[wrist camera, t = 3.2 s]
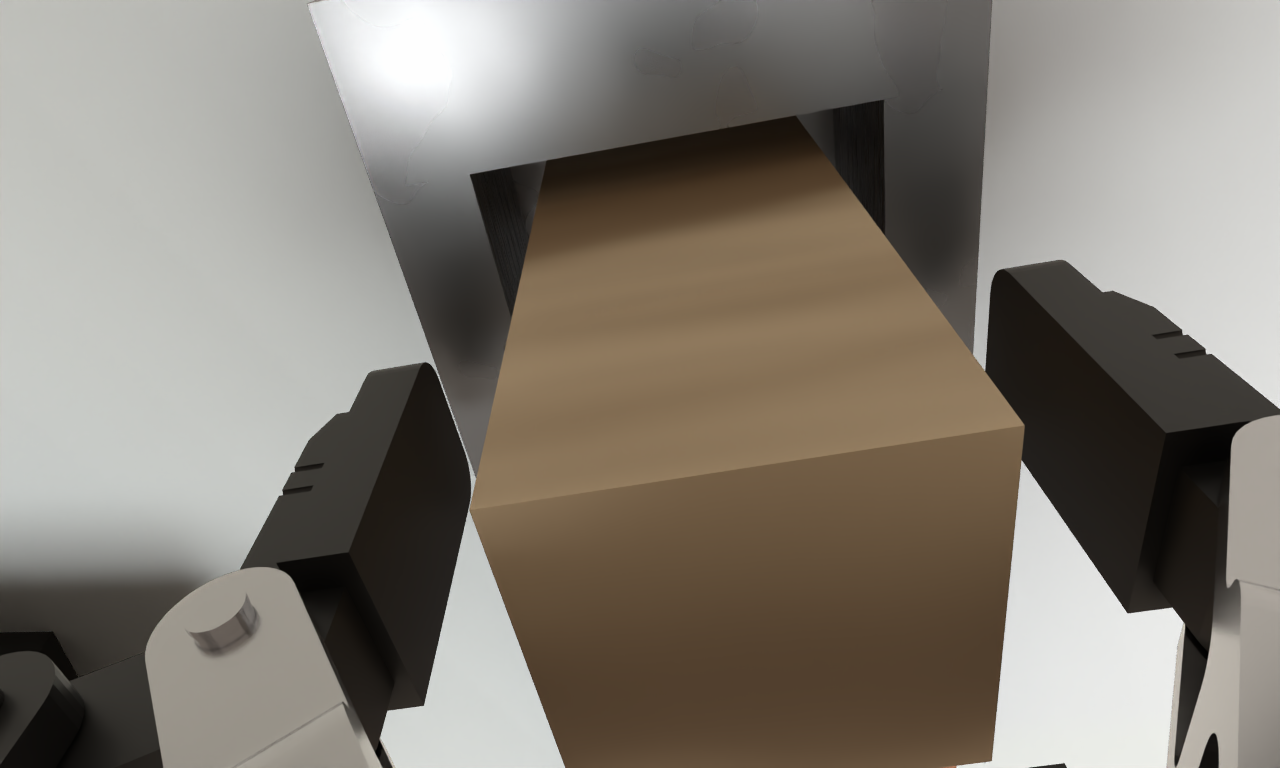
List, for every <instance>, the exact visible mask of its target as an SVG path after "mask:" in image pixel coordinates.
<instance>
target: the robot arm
mask: <svg viewBox="0 0 1280 768" xmlns="http://www.w3.org/2000/svg"><path fill="white" fill-rule="evenodd" d="M1205 350H1206V349H1205V348H1204V347H1202V346H1201V345H1200V344H1199V343H1198V342H1196V341H1195V340H1194V339H1193V338H1191V337H1190V336H1189V335H1183V334H1182V329H1180V328H1179V327H1178V326H1177V325H1175V324H1174V323H1173V322H1172V321H1170V320H1169V319H1168V318H1167V317H1166V316H1164V315H1163V314H1162V313H1161V312H1159V311H1158V310H1157V309H1156V308H1154V307H1152V306H1149V305H1147V304H1144V303H1142V302H1139V301H1137V300H1134V299H1132V298H1129V297H1127V296H1124V295H1122V294H1119V293H1117V292H1114V291H1109V292H1101V291H1100V290H1099V289H1098V288H1097V287H1096V286H1095V285H1093V284H1092V283H1091V282H1090V281H1089V280H1088V279H1086V278H1085V277H1084V276H1083V275H1082V274H1081V273H1080V272H1078V271H1077V270H1076V269H1075V268H1074V267H1073V266H1071V265H1070V264H1069V263H1068V262H1066V261H1064V260H1056V261H1050V262H1043V263H1037V264H1031V265H1025V266H1019V267H1013V268H1007V269H1001V270H999V271H997V272H996V274H995V275H994V277H993V280H992V285H991V292H990V307H989V322H988V338H987V354H986V369H985V372H986V374H987V375H988V376H989V378H990V379H991V380H992V382H993V383H994V384H995V386H996V387H997V388H998V390H999V391H1000V392H1001V394H1002V395H1003V397H1004V398H1005V399H1006V401H1007V402H1008V403H1009V405H1010V406H1011V407H1012V409H1013V410H1014V411H1015V413H1016V414H1017V415H1018V417H1019V418H1020V420H1021V421H1022V422H1023V424H1024V425H1025V428H1024V438H1023V449H1022V459H1021V460H1022V461H1023V462H1024V464H1025V465H1026V467H1027V468H1028V470H1029V471H1030V473H1031V474H1032V476H1033V477H1034V478H1035V480H1036V481H1037V483H1038V484H1039V486H1040V487H1041V489H1042V490H1043V491H1044V493H1045V494H1046V496H1047V497H1048V499H1049V500H1050V502H1051V503H1052V504H1053V506H1054V507H1055V509H1056V510H1057V512H1058V513H1059V515H1060V516H1061V518H1062V519H1063V520H1064V522H1065V523H1066V525H1067V526H1068V528H1069V529H1070V531H1071V532H1072V533H1073V535H1074V536H1075V538H1076V539H1077V541H1078V542H1079V544H1080V545H1081V546H1082V548H1083V549H1084V551H1085V552H1086V554H1087V555H1088V557H1089V558H1090V560H1091V561H1092V562H1093V564H1094V565H1095V567H1096V568H1097V570H1098V571H1099V573H1100V574H1101V575H1102V577H1103V578H1104V580H1105V581H1106V583H1107V584H1108V586H1109V587H1110V588H1111V590H1112V591H1113V593H1114V594H1115V596H1116V597H1117V599H1118V600H1119V602H1120V603H1121V604H1122V606H1123V607H1124V609H1125V610H1126V612H1127V613H1134V612H1142V611H1149V610H1157V609H1164V608H1172V607H1173V609H1174V610H1175V611H1176V613H1177V614H1178V615H1179V617H1180V618H1181V619H1182V621H1183V622H1184V623H1183V627H1182V630H1181V634H1180V638H1179V642H1178V646H1177V656H1176V667H1175V678H1174V689H1173V700H1172V711H1171V722H1170V734H1169V745H1168V756H1167V767H1166V768H1280V409H1279V408H1278V407H1276V406H1275V405H1274V404H1273V403H1272V402H1270V401H1269V400H1268V399H1267V398H1265V397H1264V396H1263V395H1262V394H1260V393H1259V392H1258V391H1257V390H1255V389H1254V388H1253V387H1252V386H1251V385H1249V384H1248V383H1247V382H1246V381H1244V380H1243V379H1242V378H1241V377H1239V376H1238V375H1237V374H1236V373H1235V372H1233V371H1232V370H1231V369H1230V368H1228V367H1227V366H1226V365H1225V364H1223V363H1222V362H1221V361H1220V360H1219V359H1217V358H1216V357H1215V356H1214V355H1212V354H1208V355H1207V354H1206V351H1205ZM294 468H295V472H294V473H291V475H290V477H289V478H288V480H287V482H286V484H285V486H284V488H283V490H282V491H283V496H279V497H278V499H277V501H276V503H275V505H274V507H273V508H272V510H271V512H270V514H269V516H268V518H267V520H266V522H265V523H264V525H263V527H262V529H261V531H260V533H259V535H258V537H257V539H256V540H255V542H254V544H253V546H252V548H251V550H250V552H249V554H248V555H247V557H246V559H245V561H244V563H243V565H242V567H241V569H240V570H238V571H234V572H231V573H228V574H226V575H223V576H220V577H218V578H216V579H214V580H212V581H210V582H208V583H206V584H204V585H202V586H201V587H199V588H197V589H196V590H194V591H193V592H191V593H190V594H188V595H187V596H186V597H184V598H183V599H182V600H181V601H179V602H178V603H177V604H176V605H175V606H174V607H173V608H172V609H171V610H170V611H168V612H167V613H166V615H165V616H164V617H163V618H162V619H161V621H160V622H159V623H158V624H157V626H156V627H155V629H154V631H153V632H152V634H151V636H150V638H149V640H148V643H147V647H146V651H145V652H144V653H142V654H139V655H137V656H134V657H131V658H129V659H126V660H123V661H121V662H118V663H116V664H113V665H110V666H108V667H105V668H103V669H100V670H97V671H95V672H92V673H90V674H87V675H84V676H82V677H79V678H76V679H74V680H71V681H69V680H68V679H67V678H66V677H65V676H64V674H63V673H62V672H61V671H60V670H59V668H58V667H57V666H56V665H55V664H54V662H53V661H52V660H51V659H50V658H49V657H48V656H46V655H44V654H42V653H39V652H33V651H21V652H14V653H9V654H5V655H2V656H0V768H395V766H394V764H393V762H392V760H391V757H390V755H389V753H388V751H387V749H386V747H385V746H384V744H383V742H382V740H381V738H380V735H381V732H382V728H383V724H384V721H385V717H386V713H387V711H388V710H396V709H403V708H410V707H418V706H424V703H425V698H426V694H427V689H428V685H429V681H430V676H431V672H432V667H433V663H434V659H435V654H436V650H437V645H438V641H439V637H440V632H441V628H442V623H443V619H444V614H445V610H446V606H447V601H448V597H449V592H450V588H451V584H452V579H453V575H454V570H455V566H456V561H457V557H458V553H459V548H460V544H461V539H462V535H463V531H464V526H465V522H466V517H467V513H468V508H469V504H470V498H471V480H470V472H469V466H468V462H467V458H466V455H465V452H464V449H463V446H462V443H461V440H460V438H459V435H458V432H457V429H456V426H455V424H454V421H453V418H452V415H451V412H450V410H449V407H448V404H447V401H446V398H445V395H444V393H443V390H442V387H441V384H440V381H439V379H438V376H437V374H436V372H435V370H434V369H433V367H432V366H431V365H430V364H429V363H426V362H425V363H419V364H412V365H406V366H400V367H394V368H388V369H382V370H376V371H371V372H370V373H369V374H368V375H367V377H366V379H365V381H364V383H363V385H362V387H361V389H360V391H359V393H358V395H357V397H356V399H355V401H354V403H353V405H352V407H351V409H350V412H347V413H341V414H336V415H335V416H334V417H333V418H332V419H331V420H330V421H329V422H328V423H327V424H326V425H325V426H324V427H322V428H321V429H320V430H319V431H318V432H317V433H316V434H315V435H314V436H313V437H312V438H311V439H310V440H309V441H308V443H307V445H306V447H305V448H304V450H303V452H302V454H301V456H300V458H299V460H298V462H297V463H296V465H295V467H294ZM1031 768H1067V767H1066V765H1065V763H1063V764H1055V765H1047V766H1039V767H1031Z"/></svg>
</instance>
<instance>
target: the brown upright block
mask: <svg viewBox="0 0 1280 768" xmlns="http://www.w3.org/2000/svg"><path fill="white" fill-rule="evenodd" d="M1024 428H1025V425H1024V424H1023V422H1022V421H1021V420H1020V418H1019V417H1018V415H1017V414H1016V413H1015V411H1014V410H1013V409H1012V407H1011V406H1010V405H1009V403H1008V402H1007V401H1006V399H1005V398H1004V397H1003V395H1002V394H1001V392H1000V391H999V390H998V388H997V387H996V386H995V384H994V383H993V382H992V380H991V379H990V378H989V376H988V375H987V374H986V372H985V371H984V369H983V368H982V367H981V365H980V364H979V363H978V361H977V360H976V359H975V357H974V356H973V355H972V353H971V352H970V351H969V349H968V348H967V346H966V345H965V344H964V342H963V341H962V340H961V338H960V337H959V336H958V334H957V333H956V332H955V330H954V329H953V328H952V326H951V325H950V323H949V322H948V321H947V319H946V318H945V317H944V315H943V314H942V313H941V311H940V310H939V309H938V307H937V306H936V304H935V303H934V302H933V300H932V299H931V298H930V296H929V295H928V294H927V292H926V291H925V290H924V288H923V287H922V286H921V284H920V283H919V281H918V280H917V279H916V277H915V276H914V275H913V273H912V272H911V271H910V269H909V268H908V267H907V265H906V264H905V263H904V261H903V260H902V258H901V257H900V256H899V254H898V253H897V252H896V250H895V249H894V248H893V246H892V245H891V244H890V242H889V241H888V240H887V238H886V237H885V235H884V234H883V233H882V231H881V230H880V229H879V227H878V226H877V225H876V223H875V222H874V221H873V219H872V218H871V217H870V215H869V214H868V212H867V211H866V210H865V208H864V207H863V206H862V204H861V203H860V202H859V200H858V199H857V198H856V196H855V195H854V194H853V192H852V191H851V189H850V188H849V187H848V185H847V184H846V183H845V181H844V180H843V179H842V177H841V176H840V175H839V173H838V172H837V171H836V169H835V168H834V166H833V165H832V164H831V162H830V161H829V160H828V158H827V157H826V156H825V154H824V153H823V152H822V150H821V149H820V148H819V146H818V145H817V143H816V142H815V141H814V139H813V138H812V137H811V135H810V134H809V133H808V131H807V130H806V129H805V127H804V126H803V125H802V123H801V122H800V120H799V119H798V118H797V116H796V115H795V116H790V117H784V118H779V119H773V120H767V121H762V122H756V123H751V124H745V125H740V126H734V127H729V128H723V129H718V130H712V131H707V132H701V133H695V134H690V135H684V136H679V137H673V138H668V139H662V140H657V141H651V142H646V143H640V144H634V145H629V146H623V147H618V148H612V149H607V150H601V151H596V152H590V153H585V154H579V155H573V156H568V157H562V158H557V159H551V160H547V161H546V165H545V170H544V174H543V179H542V183H541V188H540V192H539V197H538V201H537V206H536V210H535V215H534V220H533V224H532V229H531V233H530V238H529V242H528V247H527V251H526V256H525V260H524V265H523V269H522V274H521V279H520V283H519V288H518V292H517V297H516V301H515V306H514V310H513V315H512V319H511V324H510V328H509V333H508V337H507V342H506V347H505V351H504V356H503V360H502V365H501V369H500V374H499V378H498V383H497V387H496V392H495V396H494V401H493V406H492V410H491V415H490V419H489V424H488V428H487V433H486V437H485V442H484V446H483V451H482V455H481V460H480V464H479V469H478V474H477V478H476V483H475V487H474V492H473V496H472V501H471V505H470V513H471V516H472V518H473V521H474V524H475V526H476V529H477V532H478V535H479V537H480V540H481V543H482V545H483V548H484V551H485V553H486V556H487V559H488V561H489V564H490V567H491V569H492V572H493V575H494V577H495V580H496V583H497V586H498V588H499V591H500V594H501V596H502V599H503V602H504V604H505V607H506V610H507V612H508V615H509V618H510V620H511V623H512V626H513V628H514V631H515V634H516V637H517V639H518V642H519V645H520V647H521V650H522V653H523V655H524V658H525V661H526V663H527V666H528V669H529V671H530V674H531V677H532V679H533V682H534V685H535V688H536V690H537V693H538V696H539V698H540V701H541V704H542V706H543V709H544V712H545V714H546V717H547V720H548V722H549V725H550V728H551V730H552V733H553V736H554V739H555V741H556V744H557V747H558V749H559V752H560V755H561V757H562V760H563V763H564V765H565V768H941V767H949V766H957V765H965V764H973V763H981V762H989V761H992V752H993V742H994V732H995V722H996V712H997V702H998V692H999V682H1000V671H1001V661H1002V651H1003V641H1004V631H1005V621H1006V611H1007V601H1008V590H1009V580H1010V570H1011V560H1012V550H1013V540H1014V530H1015V519H1016V509H1017V499H1018V489H1019V479H1020V469H1021V459H1022V449H1023V438H1024Z"/></svg>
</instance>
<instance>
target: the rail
mask: <svg viewBox="0 0 1280 768" xmlns="http://www.w3.org/2000/svg"><path fill="white" fill-rule="evenodd" d="M307 5H308V8H309V11H310V14H311V17H312V19H313V22H314V25H315V28H316V31H317V33H318V36H319V39H320V42H321V45H322V47H323V50H324V53H325V56H326V59H327V61H328V64H329V67H330V70H331V73H332V75H333V78H334V81H335V84H336V87H337V89H338V92H339V95H340V98H341V101H342V103H343V106H344V109H345V112H346V115H347V117H348V120H349V123H350V126H351V129H352V131H353V134H354V137H355V140H356V143H357V146H358V148H359V151H360V154H361V157H362V160H363V162H364V165H365V168H366V171H367V174H368V176H369V179H370V182H371V185H372V188H373V190H374V193H375V196H376V199H377V202H378V204H379V207H380V210H381V213H382V216H383V218H384V221H385V224H386V227H387V230H388V232H389V235H390V238H391V241H392V244H393V246H394V249H395V252H396V255H397V258H398V260H399V263H400V266H401V269H402V272H403V274H404V277H405V280H406V283H407V286H408V288H409V291H410V294H411V297H412V300H413V302H414V305H415V308H416V311H417V314H418V316H419V319H420V322H421V325H422V328H423V330H424V333H425V336H426V339H427V342H428V344H429V347H430V350H431V353H432V356H433V359H434V361H435V364H436V367H437V370H438V373H439V375H440V378H441V381H442V384H443V387H444V389H445V392H446V395H447V398H448V401H449V403H450V406H451V409H452V412H453V415H454V417H455V420H456V423H457V426H458V429H459V431H460V434H461V437H462V440H463V443H464V445H465V448H466V451H467V454H468V457H469V459H470V462H471V465H472V468H473V471H474V473H475V476H476V478H477V474H478V469H479V464H480V460H481V455H482V451H483V446H484V442H485V437H486V433H487V428H488V424H489V419H490V415H491V410H492V406H493V401H494V396H495V392H496V387H497V383H498V378H499V374H500V369H501V365H502V360H503V356H504V351H505V347H506V342H507V337H508V333H509V328H510V324H511V319H512V315H513V310H514V306H515V301H516V297H517V292H518V288H519V283H520V279H521V274H522V269H523V265H524V260H525V256H526V251H527V247H528V242H529V238H530V233H531V229H532V224H533V220H534V215H535V210H536V206H537V201H538V197H539V192H540V188H541V183H542V179H543V174H544V170H545V165H546V161H547V160H551V159H557V158H562V157H568V156H573V155H579V154H585V153H590V152H596V151H601V150H607V149H612V148H618V147H623V146H629V145H634V144H640V143H646V142H651V141H657V140H662V139H668V138H673V137H679V136H684V135H690V134H695V133H701V132H707V131H712V130H718V129H723V128H729V127H734V126H740V125H745V124H751V123H756V122H762V121H767V120H773V119H779V118H784V117H790V116H795V115H796V116H797V118H798V119H799V120H800V122H801V123H802V125H803V126H804V127H805V129H806V130H807V131H808V133H809V134H810V135H811V137H812V138H813V139H814V141H815V142H816V143H817V145H818V146H819V148H820V149H821V150H822V152H823V153H824V154H825V156H826V157H827V158H828V160H829V161H830V162H831V164H832V165H833V166H834V168H835V169H836V171H837V172H838V173H839V175H840V176H841V177H842V179H843V180H844V181H845V183H846V184H847V185H848V187H849V188H850V189H851V191H852V192H853V194H854V195H855V196H856V198H857V199H858V200H859V202H860V203H861V204H862V206H863V207H864V208H865V210H866V211H867V212H868V214H869V215H870V217H871V218H872V219H873V221H874V222H875V223H876V225H877V226H878V227H879V229H880V230H881V231H882V233H883V234H884V235H885V237H886V238H887V240H888V241H889V242H890V244H891V245H892V246H893V248H894V249H895V250H896V252H897V253H898V254H899V256H900V257H901V258H902V260H903V261H904V263H905V264H906V265H907V267H908V268H909V269H910V271H911V272H912V273H913V275H914V276H915V277H916V279H917V280H918V281H919V283H920V284H921V286H922V287H923V288H924V290H925V291H926V292H927V294H928V295H929V296H930V298H931V299H932V300H933V302H934V303H935V304H936V306H937V307H938V309H939V310H940V311H941V313H942V314H943V315H944V317H945V318H946V319H947V321H948V322H949V323H950V325H951V326H952V328H953V329H954V330H955V332H956V333H957V334H958V336H959V337H960V338H961V340H962V341H963V342H964V344H965V345H966V346H967V348H968V349H969V351H970V352H971V353H972V355H973V344H974V325H975V307H976V288H977V270H978V251H979V233H980V214H981V196H982V177H983V159H984V140H985V122H986V103H987V85H988V66H989V48H990V29H991V11H992V0H315V1H313V2H310V3H308V4H307ZM941 768H956V766H949V767H941Z"/></svg>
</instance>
